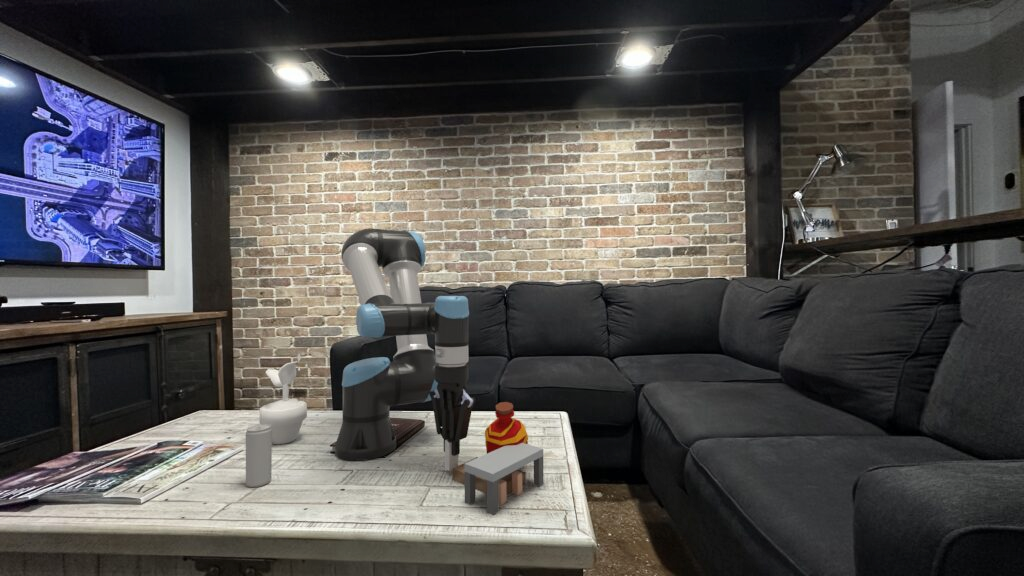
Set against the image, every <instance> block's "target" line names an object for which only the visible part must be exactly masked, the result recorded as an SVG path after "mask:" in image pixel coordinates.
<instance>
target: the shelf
mask: <svg viewBox="0 0 1024 576" xmlns="http://www.w3.org/2000/svg"><path fill="white" fill-rule="evenodd" d="M477 457H478V458H476V457H475V458H476V459H474V458H473V459H474V460H472V459H471V460H472V461H469V460H468V461H469V462H467V461H466V462H467V463H465V462H464V463H465V485H464V503H465V504H467V505H472V504H474V503H476V500H477V499H476V491H477V490H476V480H475V476H478V477H481V478H483V479H486V480H487V493H486V505H487V506H486V507H487V508H486V513H487V514H490V515H492V516H495V515H496V514H498V513H499V511H500V510H499V508H500V506H502V505H503V504H505V503H506V502H507V496H506V481H504V480H502V479H500V478H502V477H504V476H506V475H508V474H510V473H512V472H513V473H512V493H511V494H514V495H516V496H519V495H521V494H522V493H523V487H522V472H519V471H515V470H520V471H522V467H523V468H524V467H525V466H527V465H529V464H531V463H533V485H534V486H537V487H541V486H542V485H544V481H545V480H544V448H542V447H538V446H535V445H531V444H525V443H520V444H518V445H507V446H503V447H501V448H499V449H497V450H494V451H492V452H490V453H488V454H487V453H485V454H483V455H481V456H477ZM514 471H515V472H514ZM498 479H500V480H498Z"/></svg>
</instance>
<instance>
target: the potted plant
mask: <svg viewBox="0 0 1024 576" xmlns="http://www.w3.org/2000/svg"><path fill="white" fill-rule="evenodd" d="M295 357H296V359H297V360H296V361H292V362H287V363H285V364H284V365H282V366H281V367H280V368H279V369H274V368H267V370H266V371H265V373H264V374H266V376H267V377H268V378H269V379H270V381H271V383H272V384H273V386H275V387H277V388H281V387H282V388H281V389H282V398H281V399H280V398H279V399H278V400H276V401H273V402H271V403H270V402H269V403H267V404H264V405H262V406H261V407H260V408H259V425H260V424H269V425H271V427H270V428H271V429H272V444H273V445H286V444H289V443H292V442H294V441H295V440H296V439H297V438H298V435H299V434H300V430H301V428H302V424H303V422H304V421H305V420H306V419H307V417H308V413H307V412H308V407H307V406H308V403H307V402H305V401H304V400H298V398H289V395H290V393H289V392H290V387H289V385H291V384H293V382H294V381H295V379H296V377H297V374H298V373H297V371H298V372H300V370H302V369H301V367H300V366H298V368H296V364H297V363H300V360H301V359H303V357H302V356H301V354H300V352H298V355H296V356H295ZM304 367H305V369H307V368H308V367H309V365H308V364H307V362H306V364H305V365H304Z"/></svg>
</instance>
